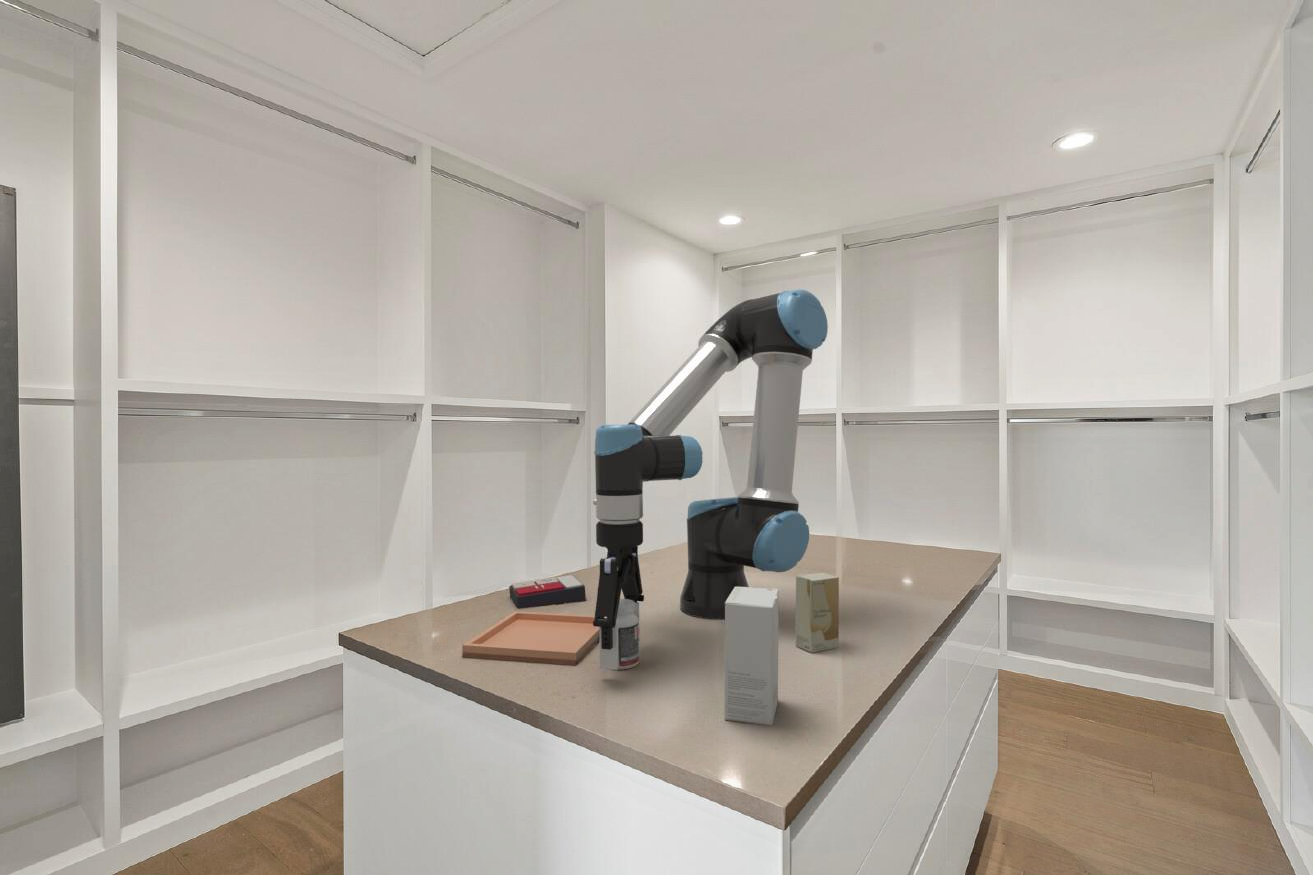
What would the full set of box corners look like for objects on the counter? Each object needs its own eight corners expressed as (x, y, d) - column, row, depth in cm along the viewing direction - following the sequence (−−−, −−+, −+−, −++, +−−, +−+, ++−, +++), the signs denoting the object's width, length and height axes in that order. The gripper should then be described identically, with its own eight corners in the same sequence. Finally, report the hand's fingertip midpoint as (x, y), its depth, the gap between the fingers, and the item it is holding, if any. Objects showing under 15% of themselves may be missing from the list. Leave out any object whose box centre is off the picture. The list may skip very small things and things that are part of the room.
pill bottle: (641, 658, 105) (640, 598, 105) (636, 671, 99) (635, 607, 99) (606, 657, 105) (606, 597, 105) (600, 670, 100) (599, 607, 100)
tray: (611, 627, 121) (611, 616, 121) (575, 665, 102) (575, 652, 102) (514, 621, 126) (514, 611, 126) (462, 657, 106) (462, 645, 106)
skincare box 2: (811, 654, 106) (811, 580, 106) (794, 646, 110) (793, 575, 109) (840, 647, 109) (840, 576, 108) (823, 640, 112) (822, 571, 112)
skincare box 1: (734, 695, 90) (733, 585, 90) (781, 700, 88) (780, 588, 88) (723, 721, 82) (721, 600, 81) (775, 728, 80) (774, 604, 80)
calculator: (508, 582, 145) (572, 572, 150) (510, 600, 145) (574, 590, 151) (516, 593, 135) (585, 582, 140) (518, 613, 135) (586, 602, 140)
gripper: (618, 510, 115) (619, 629, 115) (570, 531, 91) (572, 681, 91) (658, 511, 113) (660, 631, 113) (621, 533, 89) (622, 685, 89)
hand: (620, 654), depth 102 cm, fingers open, 12 cm apart
